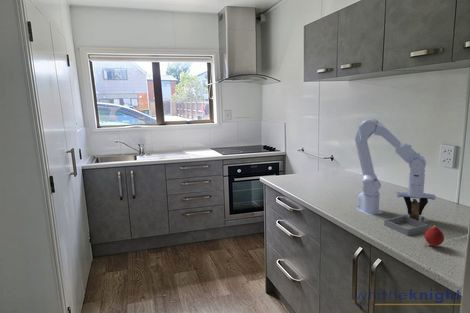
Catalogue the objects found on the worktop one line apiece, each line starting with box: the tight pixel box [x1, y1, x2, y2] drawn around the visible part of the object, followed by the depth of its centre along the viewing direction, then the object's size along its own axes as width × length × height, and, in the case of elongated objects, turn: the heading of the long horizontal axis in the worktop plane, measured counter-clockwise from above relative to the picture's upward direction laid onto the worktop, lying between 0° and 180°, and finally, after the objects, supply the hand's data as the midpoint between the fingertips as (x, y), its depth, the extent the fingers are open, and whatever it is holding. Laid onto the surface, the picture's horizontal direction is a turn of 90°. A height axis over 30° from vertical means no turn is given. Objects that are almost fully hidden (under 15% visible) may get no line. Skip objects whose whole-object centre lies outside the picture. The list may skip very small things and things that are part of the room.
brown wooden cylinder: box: [409, 198, 420, 219], centre depth 134 cm, size 4×5×8 cm
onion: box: [424, 225, 445, 248], centre depth 110 cm, size 6×6×8 cm
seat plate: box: [397, 213, 431, 223], centre depth 135 cm, size 9×9×2 cm
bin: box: [383, 215, 430, 237], centre depth 125 cm, size 11×11×3 cm
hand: (414, 213), depth 135 cm, fingers closed on brown wooden cylinder, 4 cm apart
